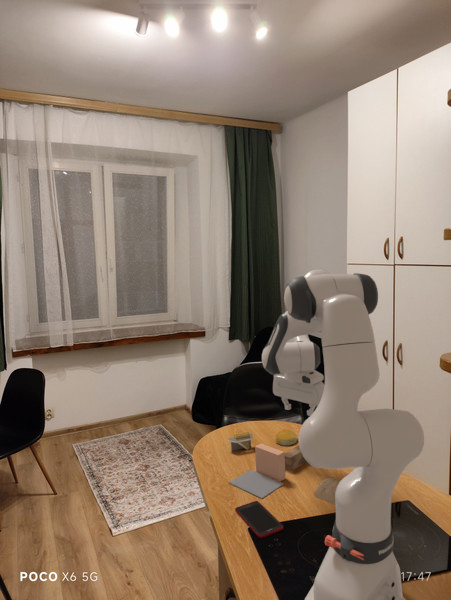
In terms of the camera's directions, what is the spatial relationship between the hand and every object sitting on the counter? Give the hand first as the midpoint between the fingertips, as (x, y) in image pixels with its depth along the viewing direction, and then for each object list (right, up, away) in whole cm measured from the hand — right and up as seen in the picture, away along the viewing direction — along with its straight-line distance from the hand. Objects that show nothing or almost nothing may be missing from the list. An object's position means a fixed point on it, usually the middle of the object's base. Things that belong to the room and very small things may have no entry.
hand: (298, 412), depth 148 cm
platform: (-19, -18, +13) cm, 30 cm away
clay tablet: (+8, -20, -19) cm, 29 cm away
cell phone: (-16, -22, -30) cm, 41 cm away
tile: (-10, -19, -7) cm, 23 cm away
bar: (+1, -18, +2) cm, 18 cm away
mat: (-16, -20, -12) cm, 28 cm away
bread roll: (-2, -17, +19) cm, 25 cm away
